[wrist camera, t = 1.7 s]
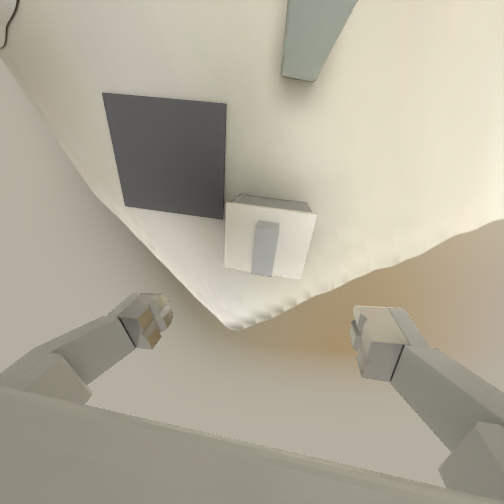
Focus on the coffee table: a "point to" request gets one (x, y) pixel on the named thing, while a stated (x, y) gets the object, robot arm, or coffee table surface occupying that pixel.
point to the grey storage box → (272, 203)
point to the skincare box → (312, 35)
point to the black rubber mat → (169, 153)
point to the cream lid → (267, 239)
